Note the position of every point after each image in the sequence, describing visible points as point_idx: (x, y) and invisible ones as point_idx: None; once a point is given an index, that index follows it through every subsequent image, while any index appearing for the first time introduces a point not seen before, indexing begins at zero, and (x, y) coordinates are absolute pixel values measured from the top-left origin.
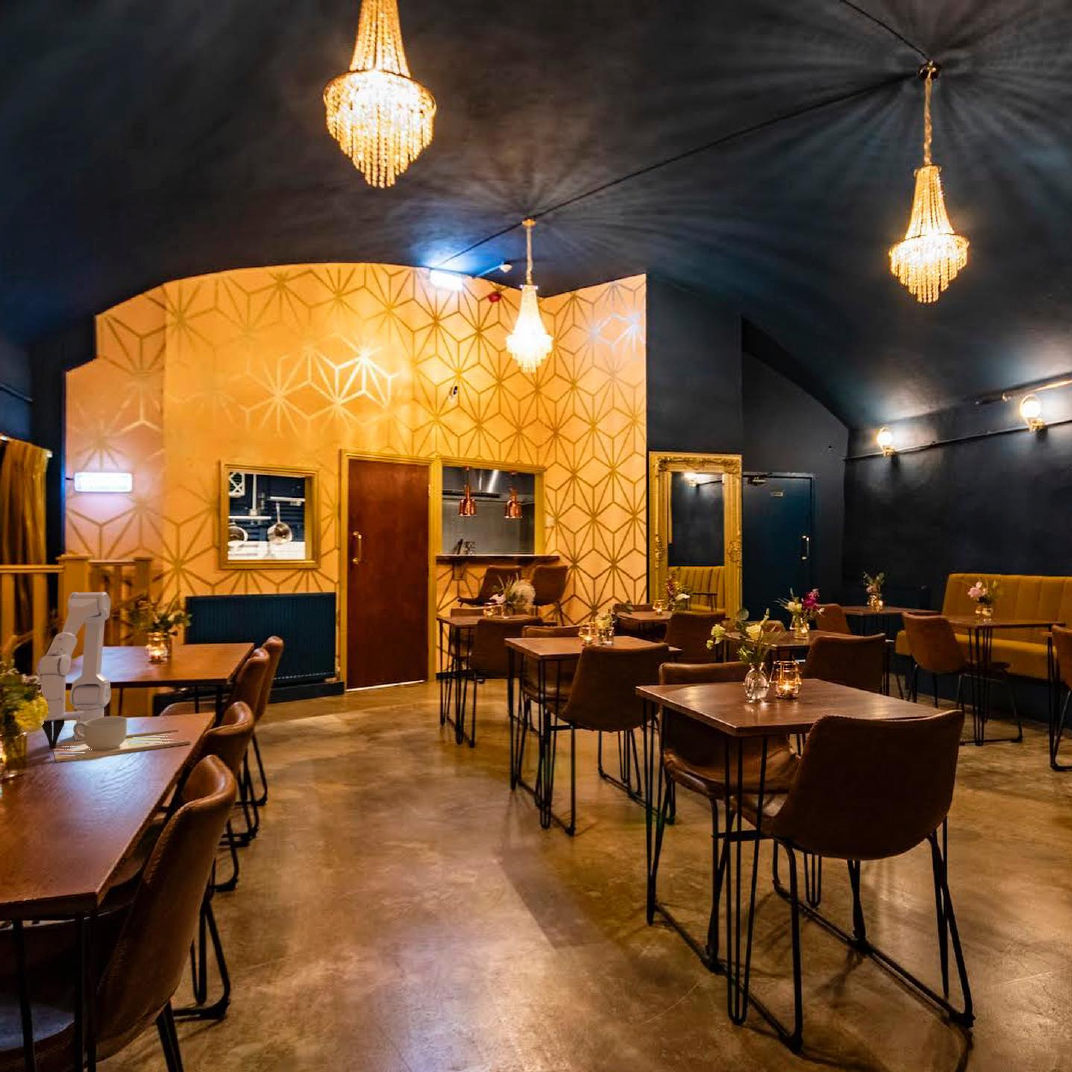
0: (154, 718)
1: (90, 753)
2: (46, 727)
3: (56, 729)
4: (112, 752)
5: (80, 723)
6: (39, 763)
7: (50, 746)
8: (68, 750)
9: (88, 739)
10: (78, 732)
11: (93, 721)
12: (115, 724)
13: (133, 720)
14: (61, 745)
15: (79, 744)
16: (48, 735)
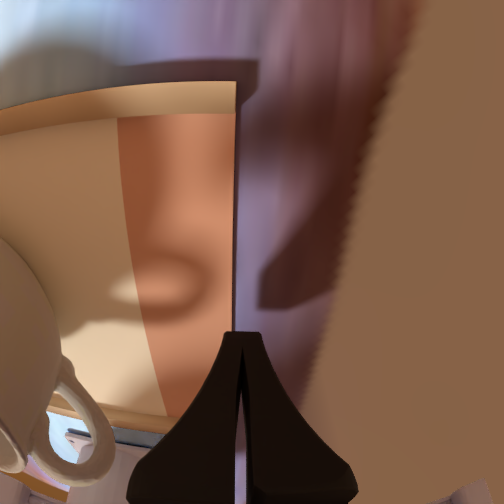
0: (31, 472)
1: (16, 128)
2: (318, 473)
3: (210, 447)
4: None
5: (57, 467)
6: (343, 140)
7: (257, 341)
8: (160, 351)
9: (4, 291)
10: (90, 426)
11: (11, 456)
12: None
13: (67, 486)
14: None
15: (128, 410)
16: (281, 409)
